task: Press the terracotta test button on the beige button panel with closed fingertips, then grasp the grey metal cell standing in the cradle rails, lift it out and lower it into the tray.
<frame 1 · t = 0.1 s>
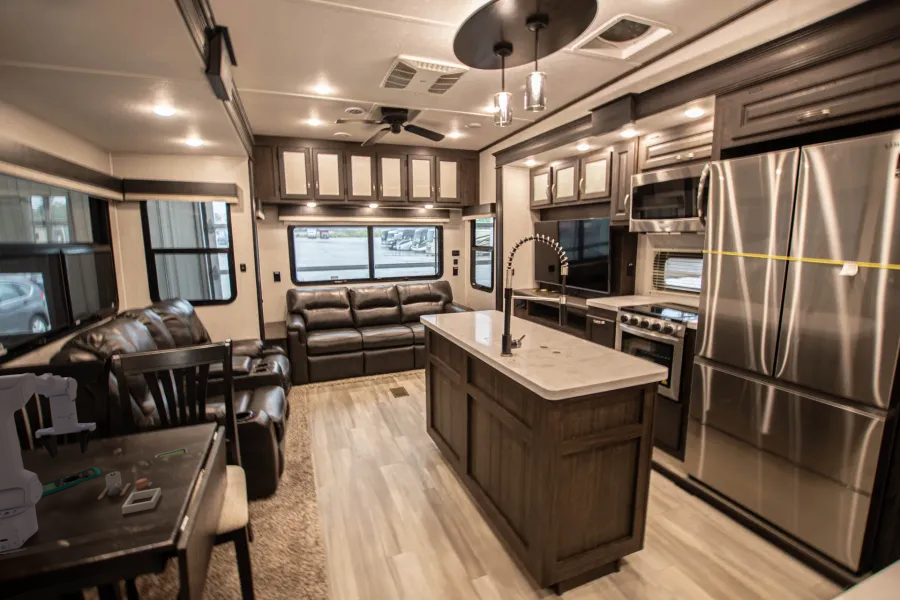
hand: (69, 454, 131), 10 cm above the table, fingers open, 7 cm apart
test button: (141, 484, 127), point 2 cm above the table, slide at -0.3 cm, touching beige button panel
handheld gaming console: (173, 462, 146), on the table
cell: (115, 492, 125), point 1 cm above the table, touching beige button panel
beige button panel: (129, 493, 127), on the table
digital multimeter: (70, 487, 131), on the table
tray: (143, 508, 120), on the table
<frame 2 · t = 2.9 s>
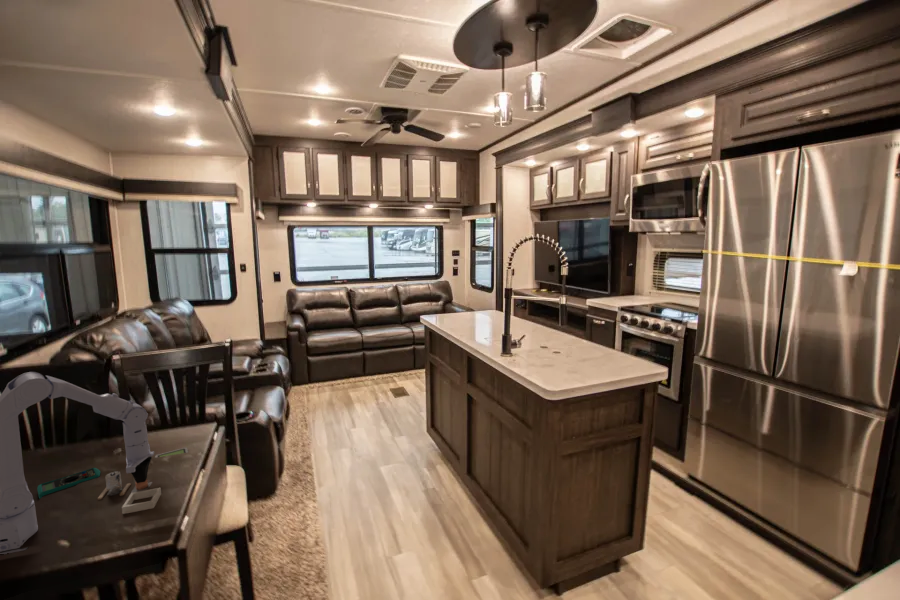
hand: (141, 482, 127), 3 cm above the table, fingers closed, pressing on test button
test button: (141, 484, 127), point 2 cm above the table, slide at -0.3 cm, touching beige button panel, gripper
everything else where it was.
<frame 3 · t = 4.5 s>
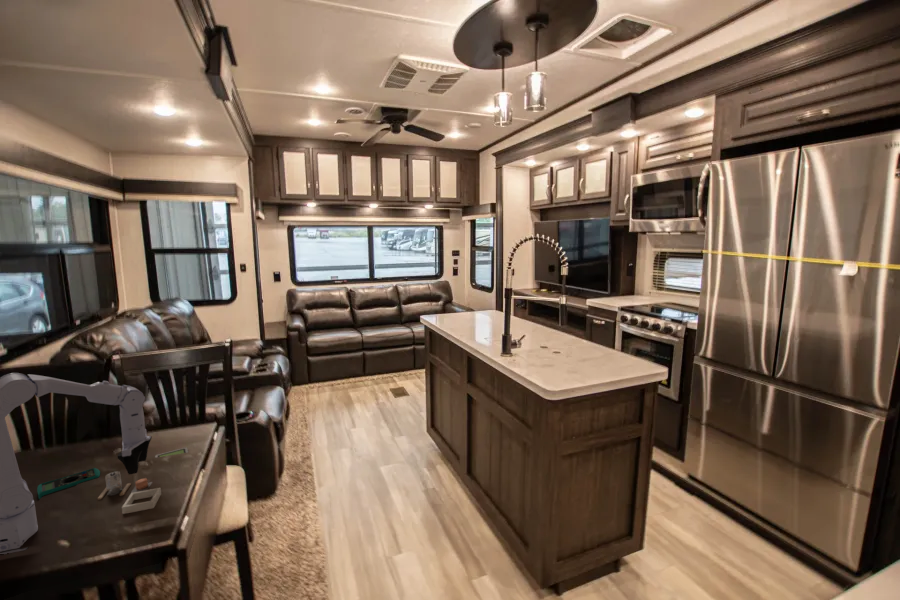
hand: (137, 467, 126), 8 cm above the table, fingers open, 7 cm apart
test button: (141, 484, 127), point 2 cm above the table, slide at -0.3 cm, touching beige button panel
everything else where it was.
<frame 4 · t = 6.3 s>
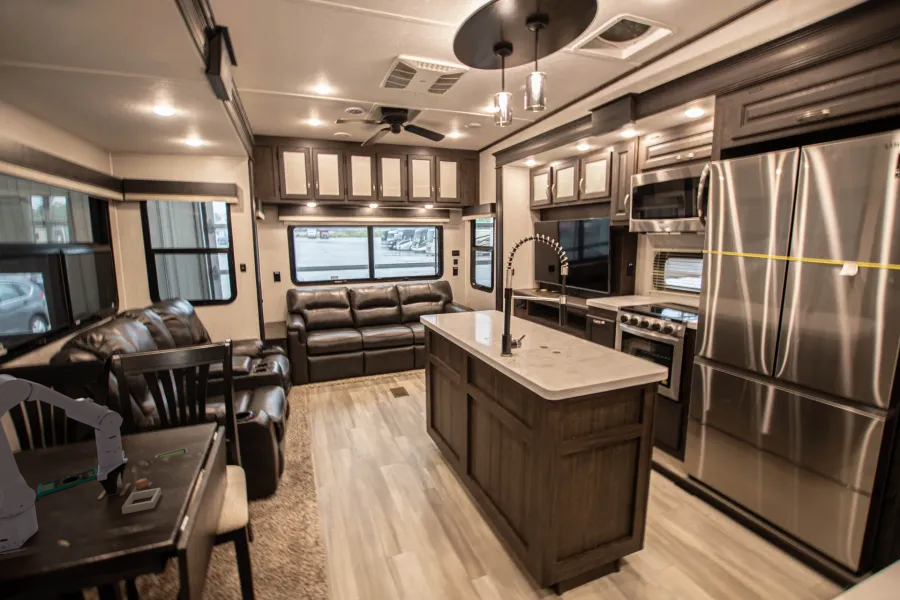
hand: (114, 489, 125), 2 cm above the table, fingers closed on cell, 4 cm apart
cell: (115, 492, 125), point 1 cm above the table, touching beige button panel, gripper
everything else where it was.
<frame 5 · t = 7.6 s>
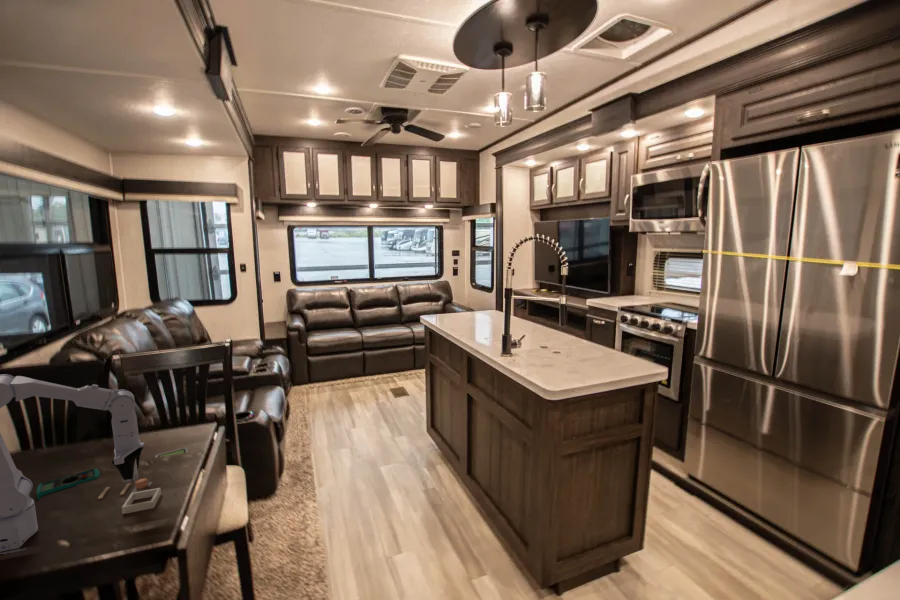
hand: (130, 475, 120), 9 cm above the table, fingers closed on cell, 4 cm apart
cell: (130, 478, 120), point 8 cm above the table, touching gripper
everything else where it was.
when the fingers open (4 cm above the table, at t = 9.3 s): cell drops 2 cm, resting on tray.
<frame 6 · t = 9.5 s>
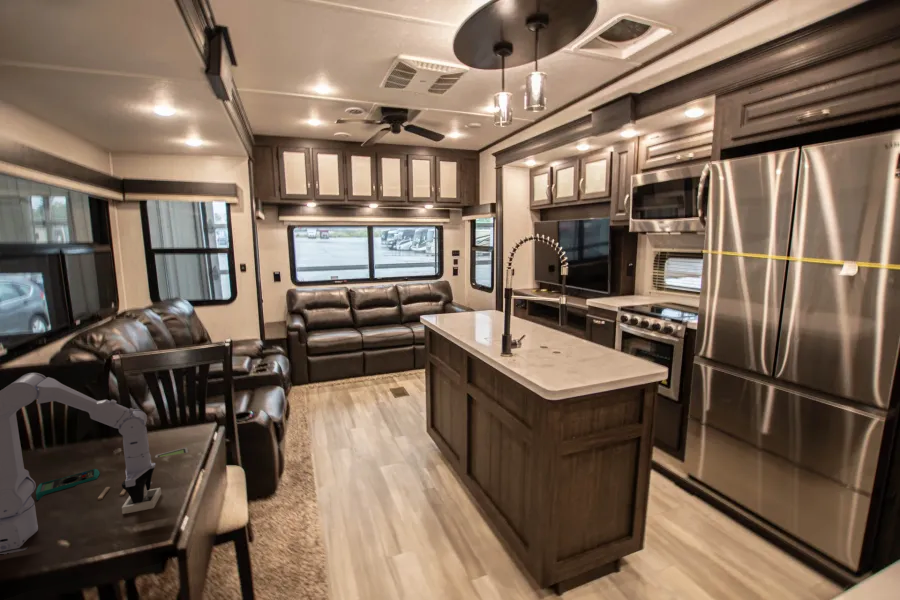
hand: (141, 496, 119), 4 cm above the table, fingers open, 5 cm apart
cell: (142, 505, 119), point 1 cm above the table, touching tray
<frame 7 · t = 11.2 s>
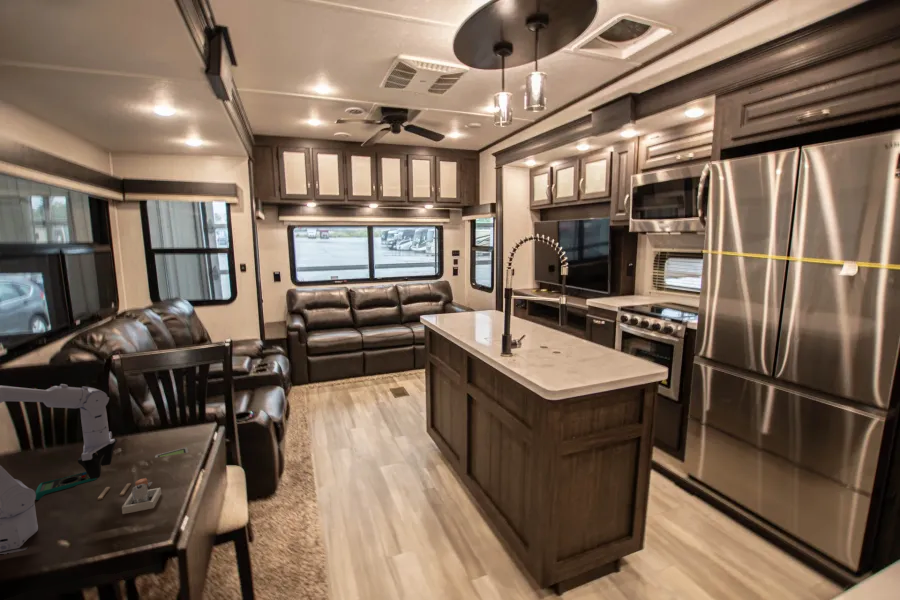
hand: (100, 471, 121), 10 cm above the table, fingers open, 7 cm apart
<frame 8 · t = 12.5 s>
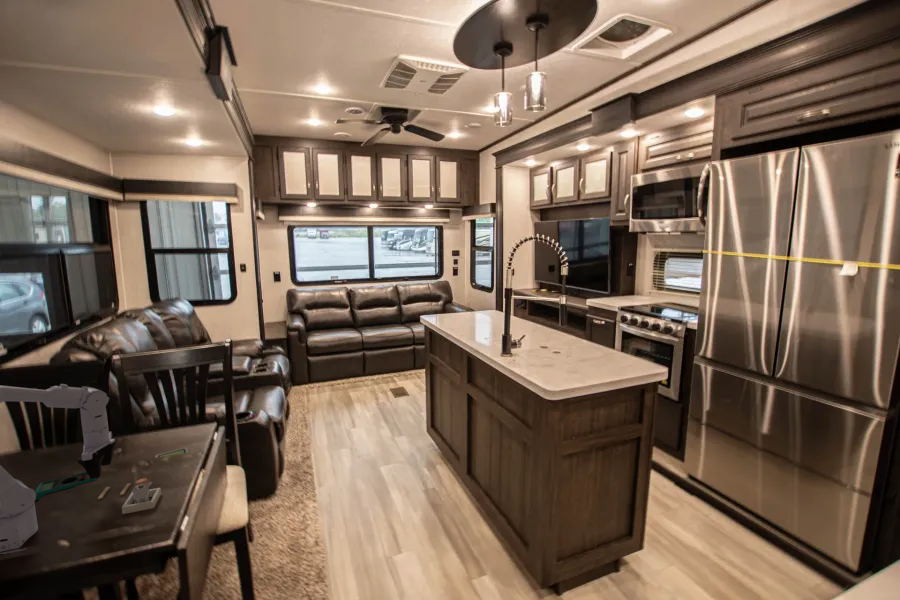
hand: (100, 471, 121), 10 cm above the table, fingers open, 7 cm apart
at the end: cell 0.2 cm from the tray (horizontally); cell point 0.7 cm above the table; the gripper is holding nothing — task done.
